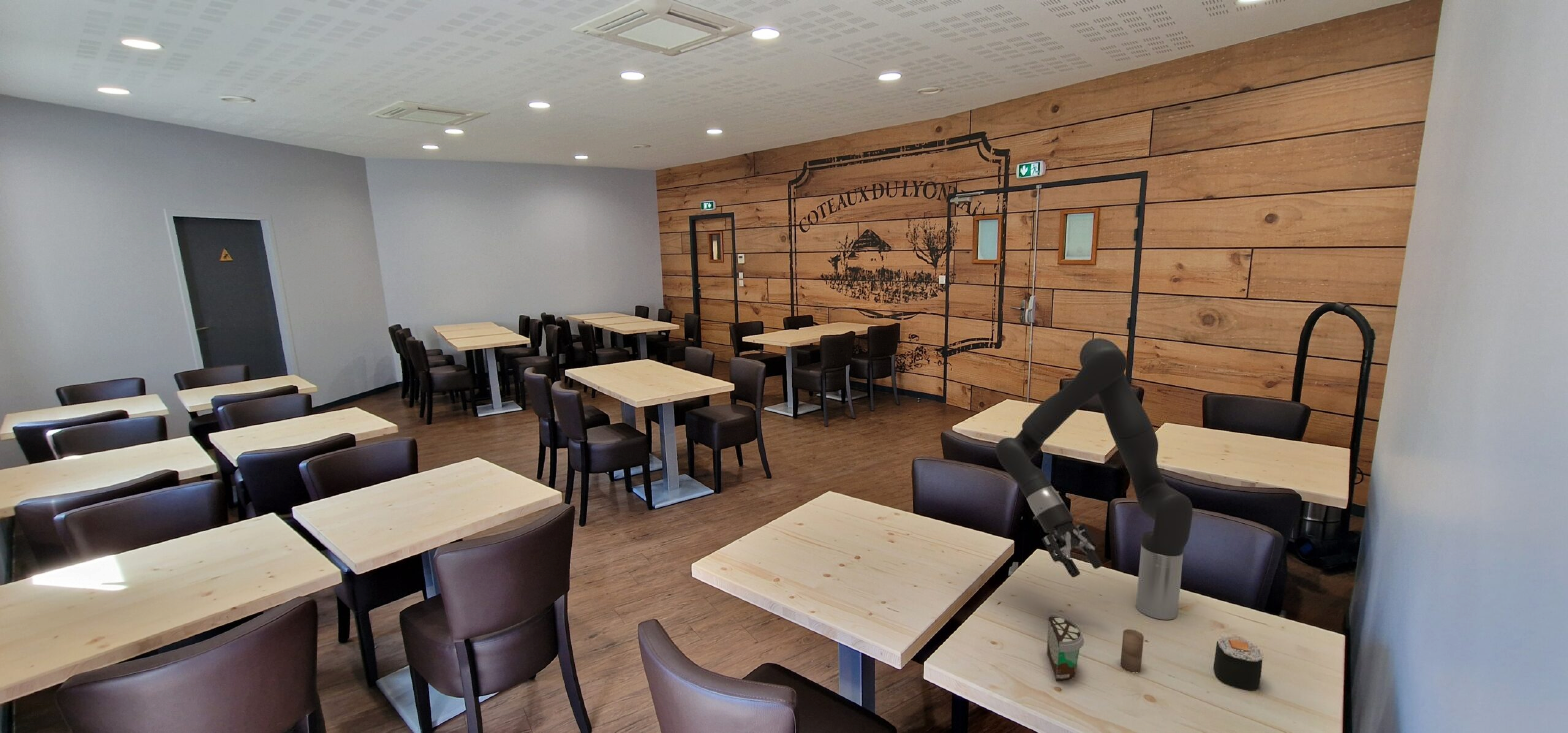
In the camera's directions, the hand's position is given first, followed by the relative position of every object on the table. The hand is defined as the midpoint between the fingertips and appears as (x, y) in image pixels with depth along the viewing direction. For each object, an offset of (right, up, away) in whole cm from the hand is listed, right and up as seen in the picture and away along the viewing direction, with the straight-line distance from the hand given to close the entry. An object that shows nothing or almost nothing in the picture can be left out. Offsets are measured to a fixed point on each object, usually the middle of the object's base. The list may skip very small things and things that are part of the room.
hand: (1088, 571), depth 147 cm
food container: (-9, -20, -7) cm, 23 cm away
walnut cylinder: (+6, -19, -7) cm, 21 cm away
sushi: (+27, -20, -11) cm, 35 cm away
